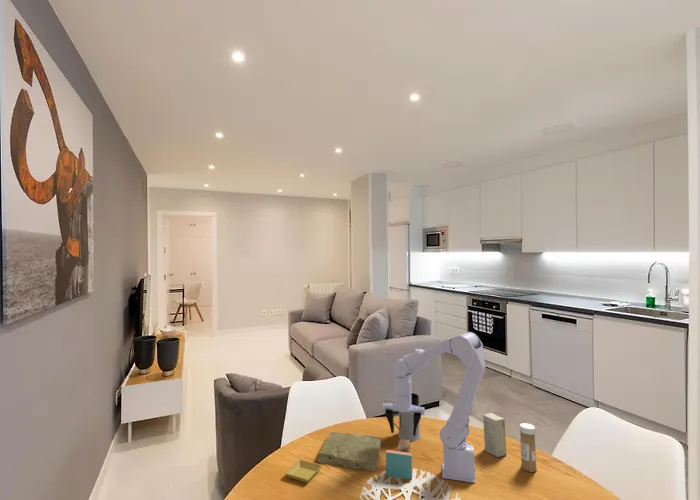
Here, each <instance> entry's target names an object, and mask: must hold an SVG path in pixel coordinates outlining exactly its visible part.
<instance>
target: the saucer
mask: <svg viewBox="0 0 700 500" xmlns="http://www.w3.org/2000/svg"><path fill="white" fill-rule="evenodd" d="M322 467H323V466H322V464H321V463H316V462H312V461H308V460H304V459H299V460H297V461H296V462H295V463H294V464H293V465H292V466H291V467H289V468H288V469H287V470H285V472H284V473H285V476H286V477H288V478H289V479H292V480H296V481H299V482H302V483H306V484H308V483H309V482H310V481H311V480H312V479H313V478H314V477H315V476H316V474H318V472H320V470H321V468H322Z"/></svg>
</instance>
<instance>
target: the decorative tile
mask: <svg viewBox="0 0 700 500" xmlns="http://www.w3.org/2000/svg"><path fill="white" fill-rule="evenodd" d="M382 441H383V440H382V437H381V436H374V435H367V434H357V433H348V432H338V431H332V432H329V434H328V436H327V437H326V440H325V441H324V443H323V445H322V446H321V449H320V451H319V453H318V458H317V462H318V464H332V465H337V466H342V467H344V468H346V469H349V468H350V469H356V470H363V471H373V472H374V471H376V470H377V469H376V468H377V465H378V462H379V458H380V453H381V449H382V445H383V443H382Z"/></svg>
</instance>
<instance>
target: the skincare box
mask: <svg viewBox="0 0 700 500" xmlns="http://www.w3.org/2000/svg"><path fill="white" fill-rule="evenodd" d="M482 417H483V419H482V421H483V438H484V439H483V440H484V450H485V451H486V450H487V451H486V452H488V453H489V454H491V455H493V456H494V457H496V458H499V457H504V456H507V442H506V420H505V418H504V417H501V416H499V415H497V414H495V413H494V412H493V413H492V412H490V413H484V414H482Z"/></svg>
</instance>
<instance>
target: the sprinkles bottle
mask: <svg viewBox="0 0 700 500" xmlns="http://www.w3.org/2000/svg"><path fill="white" fill-rule="evenodd" d="M519 433H520V436H519V437H520V458H521V461H520V462H521V463H520V464H521V465H520V467H521V469H522V470H524V471H526V472H528V473H529V472H530V473H534V472H536V471H537V469H538V468H537V451H536V436H535V435H536V427H535V426H534V425H533V424H531V423H525V422H522V423H519Z"/></svg>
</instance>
